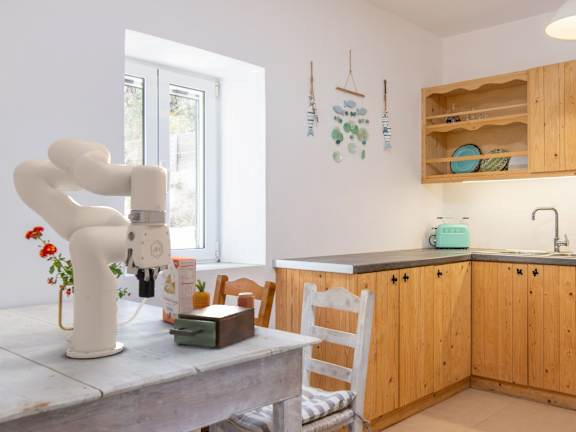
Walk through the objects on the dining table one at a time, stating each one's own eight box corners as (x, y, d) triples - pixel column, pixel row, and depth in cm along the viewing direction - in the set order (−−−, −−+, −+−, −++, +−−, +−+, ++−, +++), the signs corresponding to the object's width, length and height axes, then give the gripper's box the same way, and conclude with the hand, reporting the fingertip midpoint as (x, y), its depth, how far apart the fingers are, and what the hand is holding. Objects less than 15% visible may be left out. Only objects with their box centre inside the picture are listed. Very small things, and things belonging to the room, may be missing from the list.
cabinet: (219, 348, 137) (219, 317, 136) (177, 344, 141) (177, 313, 141) (254, 335, 151) (254, 307, 151) (215, 331, 156) (215, 304, 156)
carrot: (210, 330, 158) (210, 280, 158) (192, 331, 156) (192, 281, 156) (209, 326, 162) (209, 278, 162) (192, 328, 161) (192, 279, 160)
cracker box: (161, 320, 172) (161, 256, 171) (179, 317, 176) (179, 255, 175) (177, 327, 161) (177, 259, 161) (196, 324, 165) (196, 258, 165)
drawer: (200, 351, 130) (200, 326, 130) (160, 346, 135) (160, 322, 135) (246, 334, 148) (246, 312, 148) (210, 331, 153) (210, 309, 153)
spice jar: (233, 331, 157) (233, 294, 157) (243, 327, 162) (243, 291, 162) (247, 332, 155) (247, 295, 155) (257, 328, 160) (257, 292, 160)
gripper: (135, 219, 114) (133, 303, 115) (183, 218, 128) (182, 293, 129) (109, 218, 117) (107, 300, 117) (159, 217, 131) (158, 291, 131)
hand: (146, 296), depth 123 cm, fingers closed
